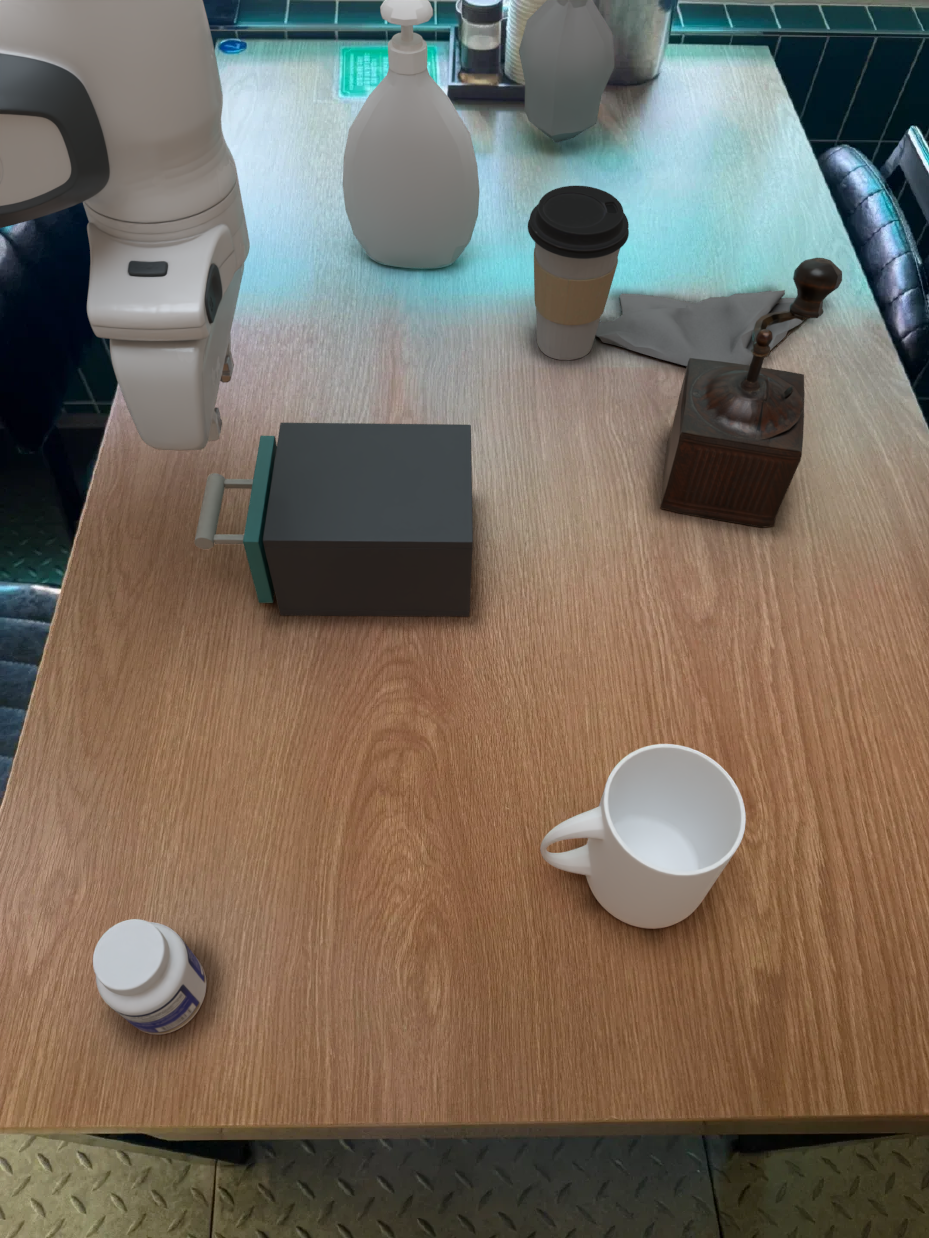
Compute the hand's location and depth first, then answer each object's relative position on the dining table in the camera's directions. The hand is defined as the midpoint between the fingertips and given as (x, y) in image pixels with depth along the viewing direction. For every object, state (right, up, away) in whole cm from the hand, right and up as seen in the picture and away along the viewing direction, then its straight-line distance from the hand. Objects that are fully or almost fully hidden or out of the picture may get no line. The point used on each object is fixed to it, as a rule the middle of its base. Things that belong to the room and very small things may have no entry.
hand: (215, 404), depth 67 cm
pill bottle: (-1, -39, -7) cm, 40 cm away
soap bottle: (+12, +26, +40) cm, 49 cm away
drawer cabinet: (+10, -10, +14) cm, 20 cm away
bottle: (+30, +46, +55) cm, 77 cm away
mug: (+29, -33, -1) cm, 44 cm away
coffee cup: (+28, +14, +32) cm, 44 cm away
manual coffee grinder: (+42, 0, +22) cm, 48 cm away
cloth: (+44, +15, +33) cm, 57 cm away
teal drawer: (+6, -9, +13) cm, 17 cm away
